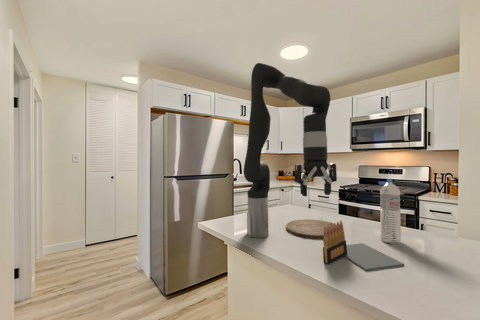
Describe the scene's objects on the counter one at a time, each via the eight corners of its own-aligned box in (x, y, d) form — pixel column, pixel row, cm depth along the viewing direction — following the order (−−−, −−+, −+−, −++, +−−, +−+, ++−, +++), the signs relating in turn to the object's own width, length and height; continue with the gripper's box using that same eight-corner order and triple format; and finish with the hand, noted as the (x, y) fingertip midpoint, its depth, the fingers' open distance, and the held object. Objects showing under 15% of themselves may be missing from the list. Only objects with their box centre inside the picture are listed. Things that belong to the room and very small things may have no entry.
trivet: (351, 239, 97) (351, 234, 96) (291, 240, 97) (291, 235, 97) (329, 222, 122) (329, 219, 121) (282, 223, 122) (282, 219, 122)
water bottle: (398, 239, 94) (398, 179, 94) (402, 245, 88) (401, 180, 87) (379, 237, 97) (378, 178, 96) (381, 243, 90) (380, 180, 90)
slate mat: (365, 271, 69) (365, 269, 69) (330, 248, 87) (330, 246, 87) (404, 265, 72) (404, 263, 72) (362, 244, 90) (362, 243, 90)
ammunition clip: (328, 264, 73) (325, 228, 73) (323, 262, 75) (320, 226, 75) (347, 254, 79) (344, 220, 79) (342, 252, 81) (340, 219, 81)
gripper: (300, 145, 70) (301, 198, 70) (341, 145, 73) (342, 196, 73) (290, 147, 78) (291, 194, 78) (327, 146, 81) (328, 192, 81)
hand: (316, 195), depth 76 cm, fingers open, 8 cm apart
